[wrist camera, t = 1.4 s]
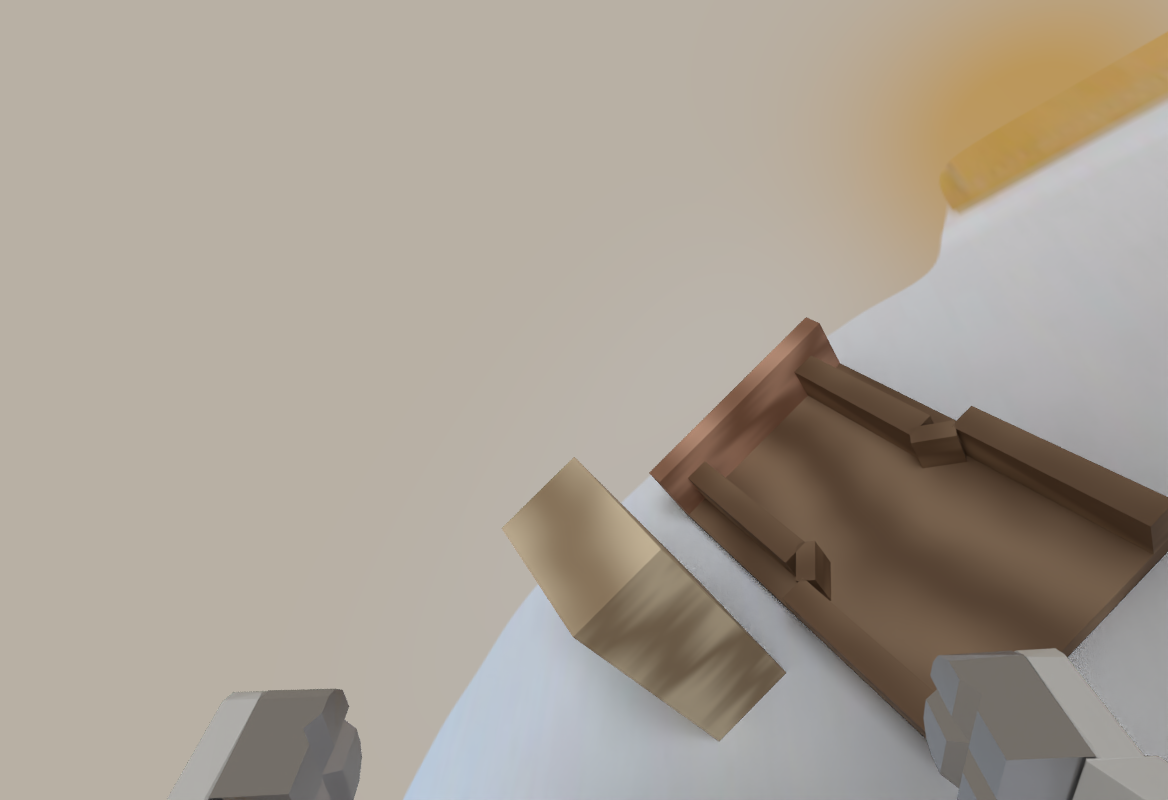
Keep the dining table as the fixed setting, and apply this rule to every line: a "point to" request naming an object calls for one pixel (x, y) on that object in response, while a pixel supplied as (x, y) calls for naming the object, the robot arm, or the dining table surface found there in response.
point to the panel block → (638, 603)
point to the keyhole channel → (908, 519)
